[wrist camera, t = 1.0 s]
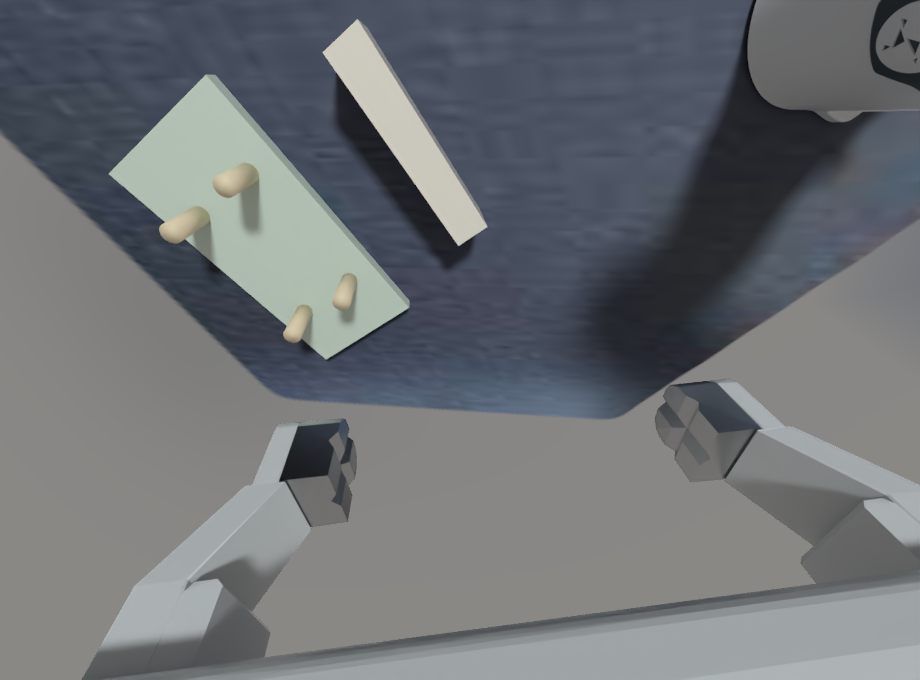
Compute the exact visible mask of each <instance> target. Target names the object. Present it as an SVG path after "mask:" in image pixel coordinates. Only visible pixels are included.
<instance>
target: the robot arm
mask: <svg viewBox="0 0 920 680" xmlns="http://www.w3.org/2000/svg"><path fill="white" fill-rule="evenodd" d="M748 65H749V70H750V75H751V78H752V81H753V83H754V85H755V87H756V89H757V91H758V92H759V93H760V95H761V96H762V97H763V98H764V99H765V100H767V101H768V102H769V103H771V104H772V105H775V106H777V107H780V108H783V109H789V110H811V111H814V112H816V113H817V114H818V115H819V116H821V117H822V118H823V119H825V120H827V121H829V122H847V121H850V120H852V119H853V118H855V117H856V116H858V115H859V114H860V113H862V112H869V111H911V110H920V0H757V1H756V4H755V7H754V11H753V14H752V19H751V23H750V29H749V36H748ZM663 397H664V399H665V401H666V402H665V404H663V405H662V406H661V407H660V408H659V409H658V410H657V414H656V417H655V422H656V429H657V432H658V434H659V436H660V438H661V440H662V441H663V442H664V444H665V445H667V446H668V447H670V448H672V449H673V450H675V460H676V462H677V463H678V465H679V466H680V467H681V469H682V470H683V472H684V473H685V475H686V476H687V478H688V479H689V480H690V482H698V481H709V480H721V479H725V482H726V483H728V484H729V485H731V486H732V487H734V488H735V489H736V490H737V491H739V492H740V493H742V494H743V495H744V496H746V497H747V498H748V499H750V500H751V501H753V502H754V503H755V504H757V505H758V506H760V507H761V508H762V509H764V510H765V511H767V512H768V513H769V514H771V515H772V516H773V517H775V518H776V519H777V520H779V521H780V522H782V523H783V524H784V525H786V526H787V527H788V528H790V529H791V530H793V531H794V532H795V533H797V534H798V535H800V536H801V537H802V538H804V539H805V540H806V541H808V542H809V543H810V544H812V545H813V547H812V548H811V549H810V550H809V551H808V552H807V553H806V554H804V555H803V556H802V558H801V564H802V566H803V567H804V569H805V570H806V571H807V572H808V574H809V575H810V576H811V577H812V579H813V580H814V581H815V583H816V584H810V585H803V586H795V587H788V588H781V589H773V590H765V591H758V592H751V593H743V594H736V595H729V596H721V597H714V598H705V599H698V600H691V601H683V602H676V603H669V604H661V605H654V606H646V607H639V608H631V609H624V610H616V611H608V612H601V613H593V614H586V615H578V616H571V617H563V618H556V619H549V620H541V621H533V622H526V623H519V624H511V625H503V626H496V627H488V628H481V629H473V630H466V631H458V632H451V633H444V634H436V635H428V636H422V637H414V638H406V639H398V640H391V641H384V642H376V643H369V644H361V645H354V646H346V647H339V648H331V649H324V650H316V651H309V652H301V653H294V654H287V655H279V656H271V657H264V656H265V652H266V648H267V644H268V641H269V637H270V632H269V630H268V628H267V626H266V625H265V624H264V623H263V622H262V621H261V620H260V619H258V618H257V616H255V615H254V614H253V613H252V611H253V609H254V608H255V606H256V605H257V604H258V602H259V601H260V600H261V598H262V597H263V595H264V594H265V592H266V591H267V590H268V589H269V587H270V586H271V584H272V583H273V582H274V580H275V579H276V577H277V576H278V574H279V573H280V572H281V570H282V569H283V567H284V566H285V565H286V564H287V562H288V561H289V559H290V558H291V556H292V555H293V554H294V552H295V551H296V550H297V548H298V547H299V546H300V544H301V543H302V541H303V540H304V539H305V537H306V535H307V534H308V533H309V532H310V530H311V528H310V527H314V526H321V525H329V524H335V523H342V522H348V517H349V512H350V506H351V499H352V493H351V491H350V488H349V484H350V483H351V482H352V481H353V480H354V479H355V474H356V450H355V445H354V442H353V440H351V439H350V438H348V431H349V427H348V424H347V422H346V420H345V419H330V420H317V421H304V422H296V423H283V424H280V425H279V426H278V427H277V428H276V429H275V431H274V433H273V436H272V438H271V441H270V443H269V446H268V448H267V450H266V453H265V455H264V458H263V460H262V462H261V465H260V467H259V470H258V472H257V475H256V477H255V480H254V482H253V484H252V485H247V486H245V487H243V488H242V489H241V490H240V491H239V492H238V493H237V494H236V495H235V496H234V497H232V498H231V499H230V500H229V501H228V502H227V503H226V504H225V505H224V506H223V507H222V508H221V509H219V510H218V511H217V512H216V513H215V514H214V515H213V516H212V517H210V518H209V519H208V520H207V521H206V522H205V523H204V524H203V525H202V526H200V527H199V528H198V529H197V530H196V531H195V532H194V533H193V534H192V535H191V536H190V537H188V538H187V539H186V540H185V541H184V542H183V543H182V544H181V545H180V546H178V547H177V548H176V549H175V550H174V551H173V552H172V553H171V554H170V555H169V556H167V557H166V558H165V559H164V560H163V561H162V562H161V563H160V564H159V565H157V566H156V567H155V568H154V569H153V570H152V571H151V572H150V573H149V574H148V575H146V576H145V577H144V578H143V579H142V580H141V581H140V582H139V583H138V584H137V585H135V586H134V588H133V590H132V591H131V593H130V595H129V597H128V599H127V600H126V602H125V604H124V606H123V607H122V609H121V611H120V613H119V614H118V616H117V618H116V620H115V622H114V623H113V625H112V627H111V629H110V631H109V632H108V634H107V636H106V638H105V639H104V641H103V643H102V645H101V647H100V648H99V650H98V652H97V653H96V655H95V657H94V659H93V661H92V662H91V664H90V666H89V668H88V669H87V671H86V673H85V675H84V677H83V678H82V680H920V485H918V484H916V483H914V482H912V481H909V480H907V479H905V478H903V477H901V476H899V475H896V474H894V473H892V472H890V471H888V470H885V469H883V468H881V467H879V466H877V465H874V464H872V463H870V462H868V461H866V460H864V459H861V458H859V457H857V456H855V455H853V454H851V453H848V452H846V451H844V450H842V449H840V448H837V447H835V446H833V445H831V444H829V443H826V442H824V441H822V440H820V439H818V438H816V437H813V436H811V435H809V434H807V433H805V432H802V431H800V430H798V429H796V428H794V427H792V426H791V427H785V426H784V425H783V424H781V423H780V422H779V421H778V420H777V419H776V418H775V417H774V416H773V415H772V414H771V413H770V412H768V411H767V410H766V409H765V408H764V407H763V406H762V405H761V404H760V403H759V402H758V401H757V400H756V399H755V398H754V397H753V396H751V395H750V394H749V393H748V392H747V391H746V390H745V389H744V388H743V387H742V386H741V385H740V384H739V383H737V382H736V381H734V380H731V379H723V380H713V381H703V382H694V383H686V384H677V385H670V386H669V387H668V388H667V389H666V390H665V393H664V395H663Z"/></svg>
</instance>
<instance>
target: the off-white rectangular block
mask: <svg viewBox="0 0 920 680" xmlns="http://www.w3.org/2000/svg"><path fill="white" fill-rule="evenodd" d="M323 54H324V55H325V57H326V58H327V59H328V61H329V62H330V64H331V65H332V67H333V68H334V69H335V71H336V72H337V74H338V75H339V77H340V78H341V79H342V81H343V82H344V84H345V85H346V87H347V88H348V89H349V91H350V92H351V94H352V95H353V97H354V98H355V99H356V101H357V102H358V104H359V105H360V107H361V108H362V109H363V111H364V112H365V114H366V115H367V116H368V118H369V119H370V121H371V122H372V124H373V125H374V126H375V128H376V129H377V131H378V132H379V134H380V135H381V136H382V138H383V139H384V141H385V142H386V144H387V145H388V146H389V148H390V149H391V151H392V152H393V154H394V155H395V156H396V158H397V159H398V161H399V162H400V164H401V165H402V166H403V168H404V169H405V171H406V172H407V174H408V175H409V176H410V178H411V179H412V181H413V182H414V183H415V185H416V186H417V188H418V189H419V191H420V192H421V193H422V195H423V196H424V198H425V199H426V201H427V202H428V203H429V205H430V206H431V208H432V209H433V211H434V212H435V213H436V215H437V216H438V218H439V219H440V221H441V222H442V223H443V225H444V226H445V228H446V229H447V231H448V232H449V233H450V235H451V236H452V238H453V239H454V241H455V242H456V243H457V245H458V246H459V245H461V244H462V243H464V242H465V241H467V240H468V239H470V238H471V237H473V236H474V235H476V234H477V233H479V232H480V231H482V230H483V229H485V228H486V227H487V225H486V222H485V220H484V218H483V215H482V213H481V211H480V209H479V207H478V206H477V204H476V202H475V201H474V199H473V198H472V196H471V194H470V193H469V191H468V190H467V188H466V186H465V185H464V183H463V181H462V180H461V178H460V177H459V175H458V173H457V172H456V170H455V169H454V167H453V165H452V164H451V162H450V160H449V159H448V157H447V156H446V154H445V152H444V151H443V149H442V148H441V146H440V144H439V143H438V141H437V140H436V138H435V136H434V135H433V133H432V131H431V130H430V128H429V127H428V125H427V123H426V122H425V120H424V119H423V117H422V115H421V114H420V112H419V110H418V109H417V107H416V106H415V104H414V102H413V101H412V99H411V98H410V96H409V94H408V93H407V91H406V90H405V88H404V86H403V85H402V83H401V81H400V80H399V78H398V77H397V75H396V73H395V72H394V70H393V69H392V67H391V65H390V64H389V62H388V60H387V59H386V57H385V56H384V54H383V52H382V51H381V49H380V48H379V46H378V44H377V43H376V41H375V40H374V38H373V36H372V35H371V33H370V31H369V30H368V28H367V27H366V26H365V25H364V24H362V23H361V22H360V21H359V20H358V19H357V20H356V21H355V22H354V23H353V24H352V25H351V26H350V27H349V28H348V29H347V30H346V31H345V32H344V33H343V34H342V35H341V36H339V37H338V38H337V39H336V40H335V41H334V42H333V43H332V44H331V45H330V46H329V47H328V48H327V49H326V50H325V51H324V52H323Z"/></svg>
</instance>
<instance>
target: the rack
mask: <svg viewBox="0 0 920 680" xmlns="http://www.w3.org/2000/svg"><path fill="white" fill-rule="evenodd" d="M109 175H110V176H112V177H113V178H114V179H115V180H116V181H117V182H119V183H120V184H121V185H122V186H123V187H125V188H126V189H127V190H128V191H129V192H130V193H132V194H133V195H134V196H135V197H136V198H137V199H139V200H140V201H141V202H142V203H143V204H144V205H146V206H147V207H148V208H149V209H150V210H151V211H153V212H154V213H155V214H156V215H157V216H158V217H160V218H161V219H162V220H163V221H164V222H165V223H164V224H162V225H161V226H160V228H159V231H160V234H161V236H162V237H163V238H164V239H165V240H167V241H168V242H171V243H180V242H181V241H183V240H184V239H185V240H187V241H188V242H189V243H190V244H191V245H192V246H194V247H195V248H196V249H197V250H198V251H199V252H201V253H202V254H203V255H204V256H205V257H207V258H208V259H209V260H210V261H211V262H212V263H214V264H215V265H216V266H217V267H218V268H219V269H221V270H222V271H223V272H224V273H225V274H226V275H228V276H229V277H230V278H231V279H232V280H233V281H235V282H236V283H237V284H238V285H239V286H240V287H242V288H243V289H244V290H245V291H246V292H248V293H249V294H250V295H251V296H252V297H253V298H255V299H256V300H257V301H258V302H259V303H260V304H262V305H263V306H264V307H265V308H266V309H267V310H269V311H270V312H271V313H272V314H273V315H274V316H276V317H277V318H278V319H279V320H280V321H281V322H283V323H284V324H285V325H286V326H287V327H286V329H285V331H284V333H283V336H284V338H285V339H286V340H287V341H289V342H298V341H300V339H303V340H304V341H305V342H306V343H307V344H308V345H310V346H311V347H312V348H313V349H314V350H315V351H317V352H318V353H319V354H320V355H321V356H322V357H324V358H325V359H328V358H330V357H331V356H333V355H334V354H336V353H338V352H339V351H341V350H342V349H344V348H346V347H347V346H349V345H350V344H352V343H354V342H355V341H357V340H358V339H360V338H362V337H363V336H365V335H366V334H368V333H370V332H371V331H373V330H374V329H376V328H378V327H379V326H381V325H382V324H384V323H386V322H387V321H389V320H390V319H392V318H394V317H395V316H397V315H398V314H400V313H402V312H403V311H405V310H406V309H408V308H409V300H408V299H407V297H406V296H405V295H404V294H403V293H402V292H401V290H400V289H399V288H398V287H397V286H396V285H395V283H394V282H393V281H392V280H391V279H390V278H389V276H388V275H387V274H386V273H385V272H384V271H383V269H382V268H381V267H380V266H379V265H378V264H377V262H376V261H375V260H374V259H373V258H372V257H371V255H370V254H369V253H368V252H367V251H366V250H365V248H364V247H363V246H362V245H361V244H360V243H359V241H358V240H357V239H356V238H355V237H354V236H353V235H352V233H351V232H350V231H349V230H348V229H347V228H346V226H345V225H344V224H343V223H342V222H341V221H340V219H339V218H338V217H337V216H336V215H335V214H334V212H333V211H332V210H331V209H330V208H329V207H328V205H327V204H326V203H325V202H324V201H323V200H322V198H321V197H320V196H319V195H318V194H317V193H316V191H315V190H314V189H313V188H312V187H311V186H310V184H309V183H308V182H307V181H306V180H305V179H304V177H303V176H302V175H301V174H300V173H299V172H298V171H297V169H296V168H295V167H294V166H293V165H292V164H291V162H290V161H289V160H288V159H287V158H286V157H285V155H284V154H283V153H282V152H281V151H280V150H279V148H278V147H277V146H276V145H275V144H274V143H273V141H272V140H271V139H270V138H269V137H268V136H267V134H266V133H265V132H264V131H263V130H262V129H261V127H260V126H259V125H258V124H257V123H256V122H255V120H254V119H253V118H252V117H251V116H250V115H249V113H248V112H247V111H246V110H245V109H244V108H243V107H242V105H241V104H240V103H239V102H238V101H237V100H236V98H235V97H234V96H233V95H232V94H231V93H230V91H229V90H228V89H227V88H226V87H225V86H224V84H223V83H222V82H221V81H220V80H219V79H218V77H217V76H216V75H205V76H204V77H203V78H202V79H201V80H200V81H199V82H198V83H197V84H196V85H195V86H194V87H193V88H192V89H191V90H190V91H189V92H188V93H187V94H186V96H185V97H184V98H183V99H182V100H181V101H180V102H179V103H178V104H177V105H176V106H175V107H174V108H173V109H172V110H171V111H170V112H169V113H168V114H167V115H166V116H165V117H164V118H163V119H162V120H161V121H160V122H159V123H158V124H157V125H156V126H155V127H154V128H153V129H152V130H151V131H150V132H149V133H148V134H147V135H146V136H145V137H144V138H143V139H142V140H141V141H140V142H139V143H138V145H137V146H136V147H135V148H134V149H133V150H132V151H131V152H130V153H129V154H128V155H127V156H126V157H125V158H124V159H123V160H122V161H121V162H120V163H119V164H118V165H117V166H116V167H115V168H114V169H113V170H112V171H111V172H110V173H109Z"/></svg>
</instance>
